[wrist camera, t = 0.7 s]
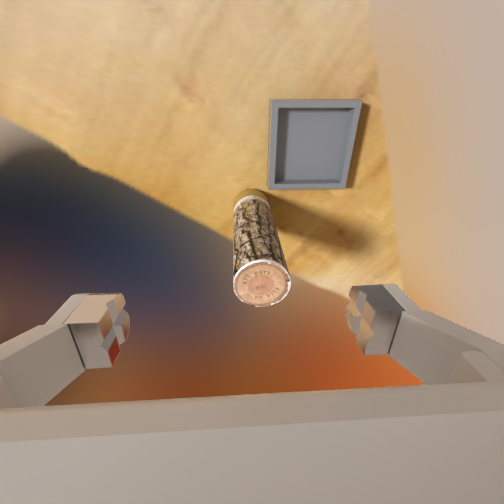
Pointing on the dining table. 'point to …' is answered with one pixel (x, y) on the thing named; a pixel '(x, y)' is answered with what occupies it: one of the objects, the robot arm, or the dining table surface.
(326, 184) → the tray
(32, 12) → the dining table surface
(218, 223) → the dining table surface
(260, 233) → the paper tube
